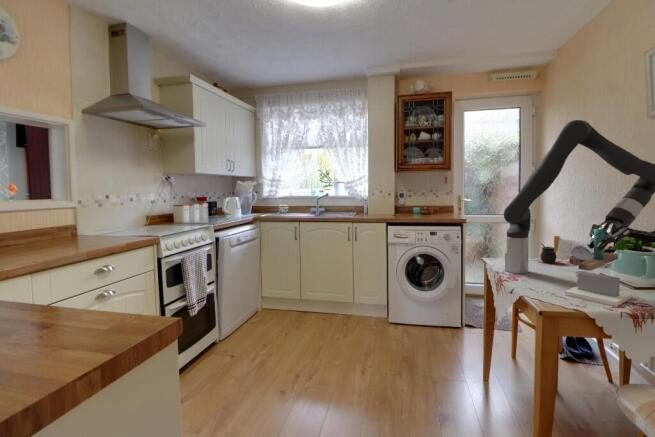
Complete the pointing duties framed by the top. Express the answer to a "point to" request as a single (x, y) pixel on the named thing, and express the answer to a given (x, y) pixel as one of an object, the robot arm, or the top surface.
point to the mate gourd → (548, 254)
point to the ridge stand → (599, 289)
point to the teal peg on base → (598, 254)
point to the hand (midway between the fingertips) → (594, 248)
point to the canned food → (580, 255)
